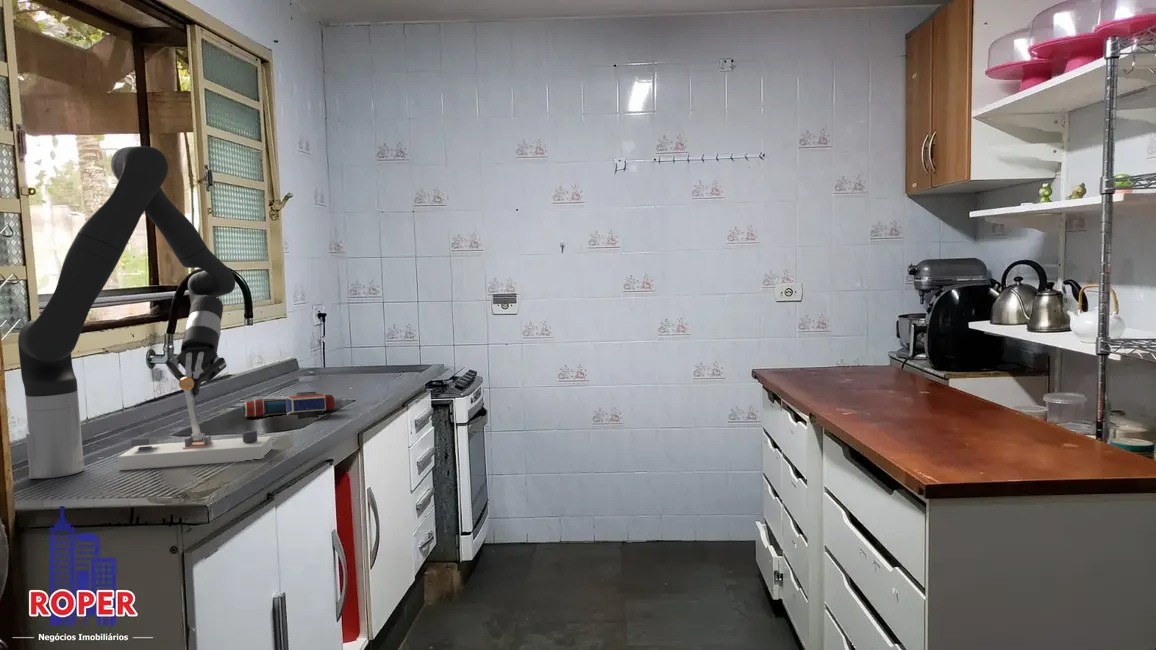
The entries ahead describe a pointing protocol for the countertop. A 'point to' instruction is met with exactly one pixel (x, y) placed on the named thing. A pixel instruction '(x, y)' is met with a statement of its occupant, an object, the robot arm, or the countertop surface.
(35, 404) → the robot arm
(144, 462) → the control panel
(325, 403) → the tool
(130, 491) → the countertop surface
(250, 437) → the push button
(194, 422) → the toggle lever
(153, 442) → the rocker
